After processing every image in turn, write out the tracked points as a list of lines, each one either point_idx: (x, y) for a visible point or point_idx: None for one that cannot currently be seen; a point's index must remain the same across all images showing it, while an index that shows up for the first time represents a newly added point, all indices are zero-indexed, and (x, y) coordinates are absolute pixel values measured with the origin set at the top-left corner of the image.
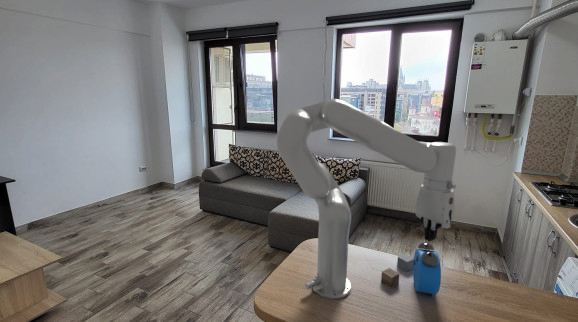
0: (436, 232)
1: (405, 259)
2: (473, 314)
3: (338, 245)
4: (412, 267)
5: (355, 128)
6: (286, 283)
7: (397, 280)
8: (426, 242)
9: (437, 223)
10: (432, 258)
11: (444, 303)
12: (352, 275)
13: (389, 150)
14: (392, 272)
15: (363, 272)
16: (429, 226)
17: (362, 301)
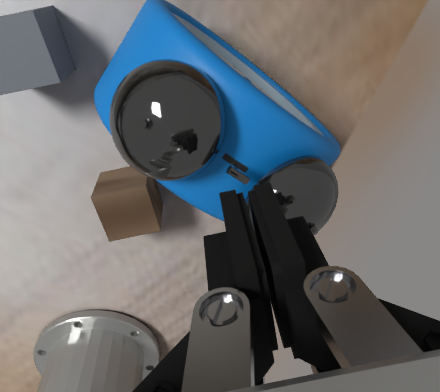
0: (323, 259)
1: (31, 72)
2: (410, 12)
3: None
4: (53, 14)
5: None
6: None
7: (150, 180)
8: (151, 123)
9: (357, 344)
10: (323, 223)
11: (313, 73)
12: (56, 282)
13: None
14: (128, 207)
15: (44, 242)
16: (272, 354)
17: (189, 307)
